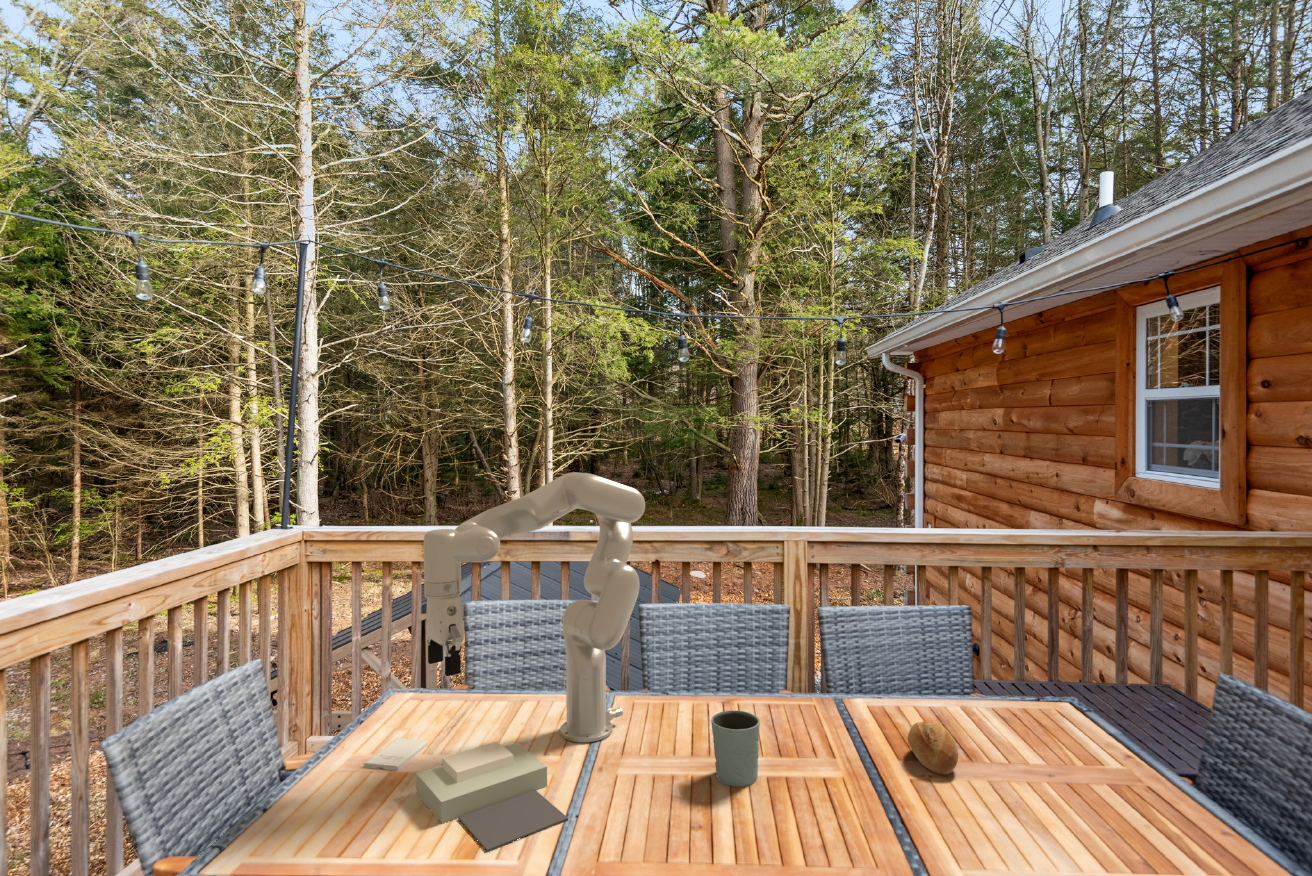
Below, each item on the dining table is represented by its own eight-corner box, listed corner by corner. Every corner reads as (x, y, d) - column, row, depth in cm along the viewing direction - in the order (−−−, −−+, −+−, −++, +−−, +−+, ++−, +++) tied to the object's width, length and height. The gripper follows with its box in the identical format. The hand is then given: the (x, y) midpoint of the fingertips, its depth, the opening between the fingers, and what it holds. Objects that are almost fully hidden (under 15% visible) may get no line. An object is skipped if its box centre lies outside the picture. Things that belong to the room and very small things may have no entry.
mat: (535, 791, 139) (535, 789, 139) (568, 820, 129) (568, 817, 129) (458, 819, 129) (458, 817, 129) (487, 852, 119) (487, 849, 119)
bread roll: (920, 779, 144) (919, 740, 144) (900, 746, 159) (900, 711, 158) (967, 780, 143) (967, 742, 143) (943, 747, 158) (943, 712, 158)
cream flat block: (497, 750, 149) (496, 741, 149) (513, 764, 142) (513, 754, 142) (442, 767, 141) (442, 757, 141) (457, 782, 135) (457, 772, 135)
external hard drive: (428, 747, 161) (397, 773, 148) (396, 744, 162) (363, 769, 150) (427, 740, 161) (397, 765, 148) (396, 737, 162) (363, 762, 150)
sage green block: (516, 760, 152) (516, 742, 152) (547, 786, 141) (547, 766, 141) (416, 792, 139) (416, 773, 139) (441, 823, 128) (441, 802, 128)
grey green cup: (758, 791, 139) (758, 731, 139) (708, 786, 141) (708, 727, 141) (761, 767, 149) (760, 711, 149) (714, 763, 151) (714, 708, 151)
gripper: (476, 592, 142) (477, 675, 143) (444, 579, 156) (445, 654, 156) (440, 598, 138) (441, 683, 138) (411, 583, 151) (412, 661, 152)
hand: (444, 668), depth 147 cm, fingers open, 9 cm apart
